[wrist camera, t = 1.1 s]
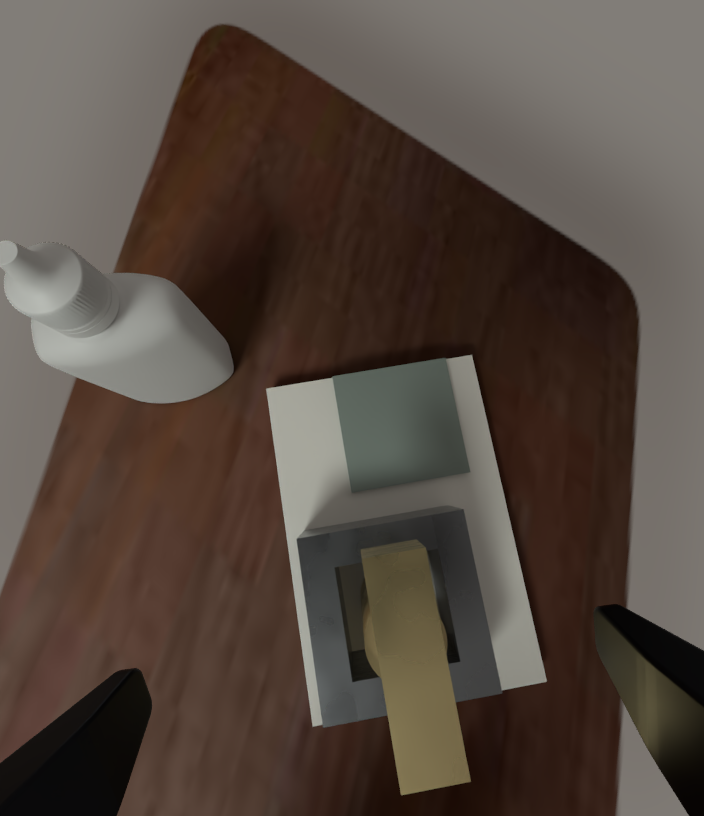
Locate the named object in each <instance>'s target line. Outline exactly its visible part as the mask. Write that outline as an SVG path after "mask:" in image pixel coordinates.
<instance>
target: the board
mask: <svg viewBox="0 0 704 816" xmlns="http://www.w3.org/2000/svg"><path fill="white" fill-rule="evenodd" d="M446 362H447V367H448V371H449V376H450V381H451V385H452V390H453V394H454V399H455V404H456V408H457V413H458V417H459V422H460V426H461V431H462V436H463V440H464V445H465V449H466V454H467V459H468V463H469V468H470V472H469V473H463V474H457V475H452V476H446V477H440V478H434V479H429V480H423V481H417V482H411V483H406V484H400V485H394V486H388V487H383V488H377V489H371V490H365V491H360V492H354V493H352V492H351V486H350V480H349V474H348V468H347V462H346V456H345V450H344V444H343V438H342V432H341V426H340V420H339V414H338V408H337V402H336V396H335V390H334V384H333V378H328V379H322V380H316V381H310V382H304V383H298V384H292V385H286V386H280V387H274V388H268V389H266V390H267V397H268V404H269V412H270V419H271V426H272V433H273V441H274V448H275V455H276V463H277V470H278V477H279V484H280V492H281V499H282V506H283V514H284V521H285V528H286V535H287V543H288V550H289V557H290V565H291V572H292V579H293V587H294V594H295V601H296V608H297V616H298V623H299V630H300V638H301V645H302V652H303V659H304V667H305V674H306V681H307V689H308V696H309V703H310V710H311V718H312V725H313V726H318V725H323V724H322V717H321V710H320V703H319V696H318V688H317V681H316V674H315V667H314V660H313V653H312V646H311V639H310V632H309V625H308V618H307V610H306V603H305V596H304V589H303V582H302V575H301V568H300V561H299V554H298V547H297V540H296V539H297V538H298V537H299V535H300V534H301V533H302V532H303V531H304V530H309V529H315V528H321V527H326V526H332V525H338V524H343V523H349V522H355V521H360V520H366V519H372V518H377V517H383V516H389V515H394V514H400V513H406V512H411V511H417V510H423V509H429V508H434V507H440V506H446V505H449V506H453V507H457V508H461V509H464V513H465V518H466V523H467V528H468V532H469V537H470V542H471V546H472V551H473V556H474V561H475V565H476V570H477V575H478V580H479V584H480V589H481V594H482V598H483V603H484V608H485V613H486V617H487V622H488V627H489V631H490V636H491V641H492V646H493V650H494V655H495V660H496V665H497V669H498V674H499V679H500V683H501V688H502V690H506V689H512V688H517V687H522V686H527V685H532V684H538V683H543V682H547V680H546V675H545V671H544V667H543V662H542V658H541V654H540V649H539V645H538V641H537V636H536V632H535V627H534V623H533V619H532V614H531V610H530V606H529V601H528V597H527V593H526V588H525V584H524V580H523V575H522V571H521V566H520V562H519V558H518V553H517V549H516V545H515V540H514V536H513V532H512V527H511V523H510V519H509V514H508V510H507V506H506V501H505V497H504V492H503V488H502V484H501V479H500V475H499V471H498V466H497V462H496V458H495V453H494V449H493V445H492V440H491V436H490V432H489V427H488V423H487V418H486V414H485V410H484V405H483V401H482V397H481V392H480V388H479V384H478V379H477V375H476V371H475V366H474V362H473V358H472V355H468V356H462V357H456V358H450V359H446ZM426 552H427V557H428V562H429V567H430V572H431V578H432V583H433V588H434V593H435V598H436V604H437V609H438V614H439V617H440V612H439V606H438V601H437V596H436V591H435V586H434V581H433V575H432V570H431V565H430V560H429V555H428V551H426ZM339 571H340V577H341V583H342V590H343V596H344V603H345V609H346V615H347V622H348V628H349V635H350V641H351V647H352V651H357V650H363V649H365V645H364V633H363V620H362V608H361V595H360V594H361V586H362V583H363V580H364V578H365V576H364V570H363V564H362V563H356V564H351V565H345V566H340V567H339ZM440 619H441V617H440Z"/></svg>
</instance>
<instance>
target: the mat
mask: <svg viewBox="0 0 704 816" xmlns="http://www.w3.org/2000/svg"><path fill="white" fill-rule="evenodd" d="M332 378H333V384H334V390H335V396H336V402H337V408H338V414H339V420H340V426H341V432H342V438H343V444H344V450H345V456H346V462H347V468H348V474H349V480H350V486H351V492H352V493H354V492H360V491H365V490H371V489H377V488H383V487H388V486H394V485H400V484H406V483H411V482H417V481H423V480H429V479H434V478H440V477H446V476H452V475H457V474H463V473H469V472H470V468H469V463H468V459H467V454H466V449H465V445H464V440H463V436H462V431H461V426H460V422H459V417H458V413H457V408H456V404H455V399H454V394H453V390H452V385H451V381H450V376H449V371H448V367H447V362H446V358H441V359H435V360H429V361H423V362H417V363H411V364H405V365H398V366H392V367H386V368H380V369H374V370H368V371H362V372H356V373H350V374H344V375H338V376H332Z"/></svg>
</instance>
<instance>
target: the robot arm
mask: <svg viewBox="0 0 704 816" xmlns="http://www.w3.org/2000/svg"><path fill="white" fill-rule="evenodd" d="M594 625H595V639H596V647H597V650H598V653H599V656H600V658H601V660H602V662H603V664H604V666H605V668H606V670H607V672H608V674H609V676H610V678H611V679H612V681H613V683H614V685H615V687H616V689H617V691H618V693H619V695H620V697H621V699H622V701H623V703H624V705H625V707H626V708H627V710H628V712H629V714H630V716H631V718H632V720H633V722H634V724H635V726H636V728H637V730H638V732H639V734H640V735H641V737H642V739H643V741H644V743H645V745H646V747H647V748H648V750H649V752H650V754H651V755H652V757H653V759H654V760H655V762H656V764H657V765H658V767H659V769H660V770H661V772H662V774H663V775H664V777H665V778H666V780H667V781H668V783H669V785H670V786H671V788H672V789H673V791H674V792H675V794H676V796H677V797H678V799H679V800H680V802H681V804H682V805H683V807H684V808H685V810H686V812H687V813H688V814H689V816H704V651H703V650H701V649H700V648H698V647H696V646H694V645H692V644H690V643H689V642H687V641H685V640H683V639H681V638H679V637H678V636H676V635H674V634H672V633H670V632H668V631H667V630H665V629H663V628H661V627H659V626H657V625H656V624H654V623H652V622H650V621H648V620H646V619H645V618H643V617H641V616H639V615H637V614H635V613H634V612H632V611H630V610H628V609H626V608H625V607H623V606H621V605H618V604H612V605H604V606H598V607H596V608H595V610H594ZM151 710H152V700H151V697H150V694H149V691H148V688H147V685H146V683H145V680H144V677H143V674H142V672H141V671H140V670H139V669H136V668H133V669H125V670H120V671H117V672H115V673H114V674H113V675H111V676H110V677H109V678H108V679H106V680H105V681H104V682H103V683H101V684H100V685H99V686H97V687H96V688H95V689H94V690H92V691H91V692H90V693H89V694H87V695H86V696H85V697H84V698H82V699H81V700H80V701H78V702H77V703H76V704H75V705H73V706H72V707H71V708H70V709H68V710H67V711H66V712H65V713H63V714H62V715H61V716H59V717H58V718H57V719H56V720H54V721H53V722H52V723H51V724H49V725H48V726H47V727H46V728H44V729H43V730H42V731H40V732H39V733H38V734H37V735H35V736H34V737H33V738H32V739H30V740H29V741H28V742H26V743H25V744H24V745H23V746H21V747H20V748H19V749H18V750H16V751H15V752H14V753H13V754H11V755H10V756H9V757H7V758H6V759H5V760H4V761H2V762H1V763H0V816H117V813H118V811H119V808H120V805H121V803H122V800H123V797H124V794H125V791H126V788H127V785H128V782H129V779H130V776H131V773H132V770H133V767H134V764H135V761H136V758H137V755H138V752H139V749H140V746H141V743H142V739H143V736H144V733H145V730H146V727H147V724H148V721H149V718H150V715H151Z"/></svg>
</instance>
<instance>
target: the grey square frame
mask: <svg viewBox="0 0 704 816" xmlns="http://www.w3.org/2000/svg"><path fill="white" fill-rule="evenodd" d="M415 539H417V540H418V541H419V542H420V543H421V544H422V545H424V546H425V547H426V551H428V555H429V560H430V565H431V570H432V575H433V581H434V586H435V591H436V596H437V601H438V606H439V612H440V617H441V620H442V622H443V624H444V627H445V630H446V634H447V653H446V655H447V661H448V666H449V671H450V676H451V681H452V686H453V692H454V697H455V702H460V701H465V700H470V699H476V698H481V697H486V696H491V695H496V694H502V688H501V683H500V679H499V674H498V669H497V665H496V660H495V655H494V650H493V646H492V641H491V636H490V631H489V627H488V622H487V617H486V613H485V608H484V603H483V598H482V594H481V589H480V584H479V580H478V575H477V570H476V565H475V561H474V556H473V551H472V546H471V542H470V537H469V532H468V528H467V523H466V518H465V513H464V509H461V508H457V507H453V506H449V505H446V506H440V507H434V508H429V509H423V510H417V511H411V512H406V513H400V514H394V515H389V516H383V517H377V518H372V519H366V520H360V521H355V522H349V523H343V524H338V525H332V526H326V527H321V528H315V529H309V530H304V531H303V532H302V533H301V534H300V535H299V537H298V538H297V539H296V540H297V547H298V554H299V561H300V568H301V575H302V582H303V589H304V596H305V603H306V610H307V618H308V625H309V632H310V639H311V646H312V653H313V660H314V667H315V674H316V681H317V688H318V696H319V703H320V710H321V717H322V724H323V728H324V727H329V726H335V725H340V724H345V723H350V722H356V721H361V720H366V719H371V718H376V717H382V716H387V715H388V714H387V708H386V702H385V696H384V690H383V684H382V679H381V678H380V677H379V676H378V675H377V674H376V673H375V671H374V670H373V669H372V667H371V665H370V663H369V661H368V659H367V656H366V652H365V649H363V650H357V651H352V647H351V641H350V635H349V628H348V622H347V615H346V609H345V603H344V596H343V590H342V583H341V577H340V571H339V567H340V566H345V565H351V564H356V563H362V558H361V550H360V549H365V548H370V547H376V546H381V545H387V544H393V543H398V542H404V541H410V540H415Z"/></svg>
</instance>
